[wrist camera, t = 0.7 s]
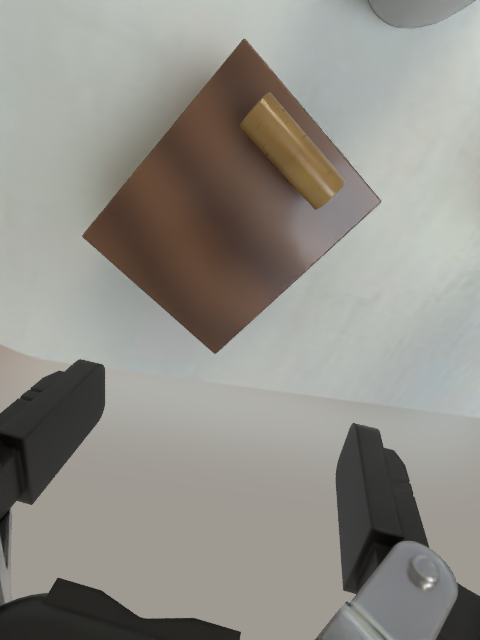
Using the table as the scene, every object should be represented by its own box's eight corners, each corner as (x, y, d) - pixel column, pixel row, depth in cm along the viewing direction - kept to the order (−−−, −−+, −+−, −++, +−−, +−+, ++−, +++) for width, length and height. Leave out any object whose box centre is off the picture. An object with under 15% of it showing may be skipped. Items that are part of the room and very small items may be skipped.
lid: (244, 42, 20) (242, 1, 16) (378, 200, 23) (411, 208, 18) (86, 234, 24) (45, 249, 20) (216, 349, 27) (208, 388, 22)
